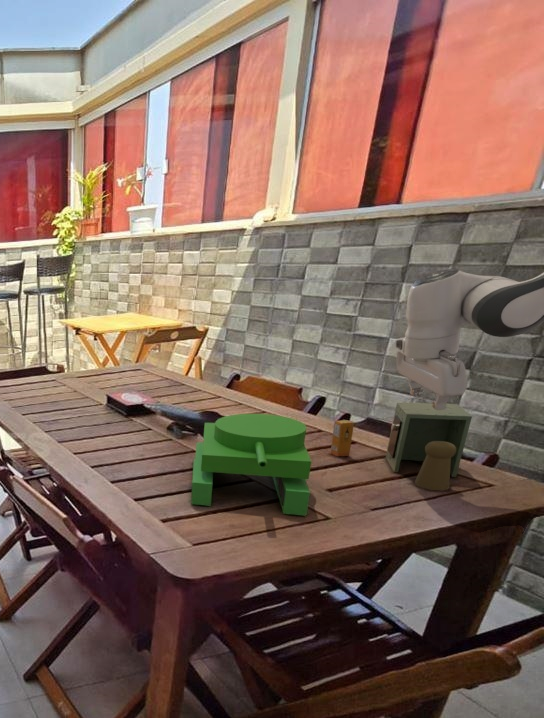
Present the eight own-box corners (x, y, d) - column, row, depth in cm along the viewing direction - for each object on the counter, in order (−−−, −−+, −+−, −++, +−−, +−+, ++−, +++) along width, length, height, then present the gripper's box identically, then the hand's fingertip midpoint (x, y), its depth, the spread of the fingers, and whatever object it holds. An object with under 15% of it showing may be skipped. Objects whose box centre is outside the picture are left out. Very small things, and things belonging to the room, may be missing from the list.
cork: (444, 481, 120) (455, 439, 116) (452, 491, 115) (464, 448, 111) (411, 478, 123) (421, 437, 119) (418, 488, 118) (428, 446, 114)
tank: (187, 514, 118) (191, 452, 113) (193, 461, 147) (196, 409, 141) (310, 529, 107) (322, 460, 101) (291, 468, 135) (299, 412, 130)
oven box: (443, 461, 129) (457, 403, 124) (456, 477, 121) (472, 416, 116) (380, 457, 136) (391, 402, 131) (388, 471, 127) (400, 413, 122)
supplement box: (341, 452, 142) (347, 419, 138) (349, 456, 138) (355, 422, 135) (329, 452, 142) (334, 420, 139) (336, 457, 139) (342, 423, 136)
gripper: (479, 354, 101) (473, 415, 106) (423, 332, 118) (420, 386, 123) (440, 360, 103) (435, 420, 108) (391, 338, 121) (389, 390, 126)
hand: (427, 401), depth 116 cm, fingers open, 8 cm apart
